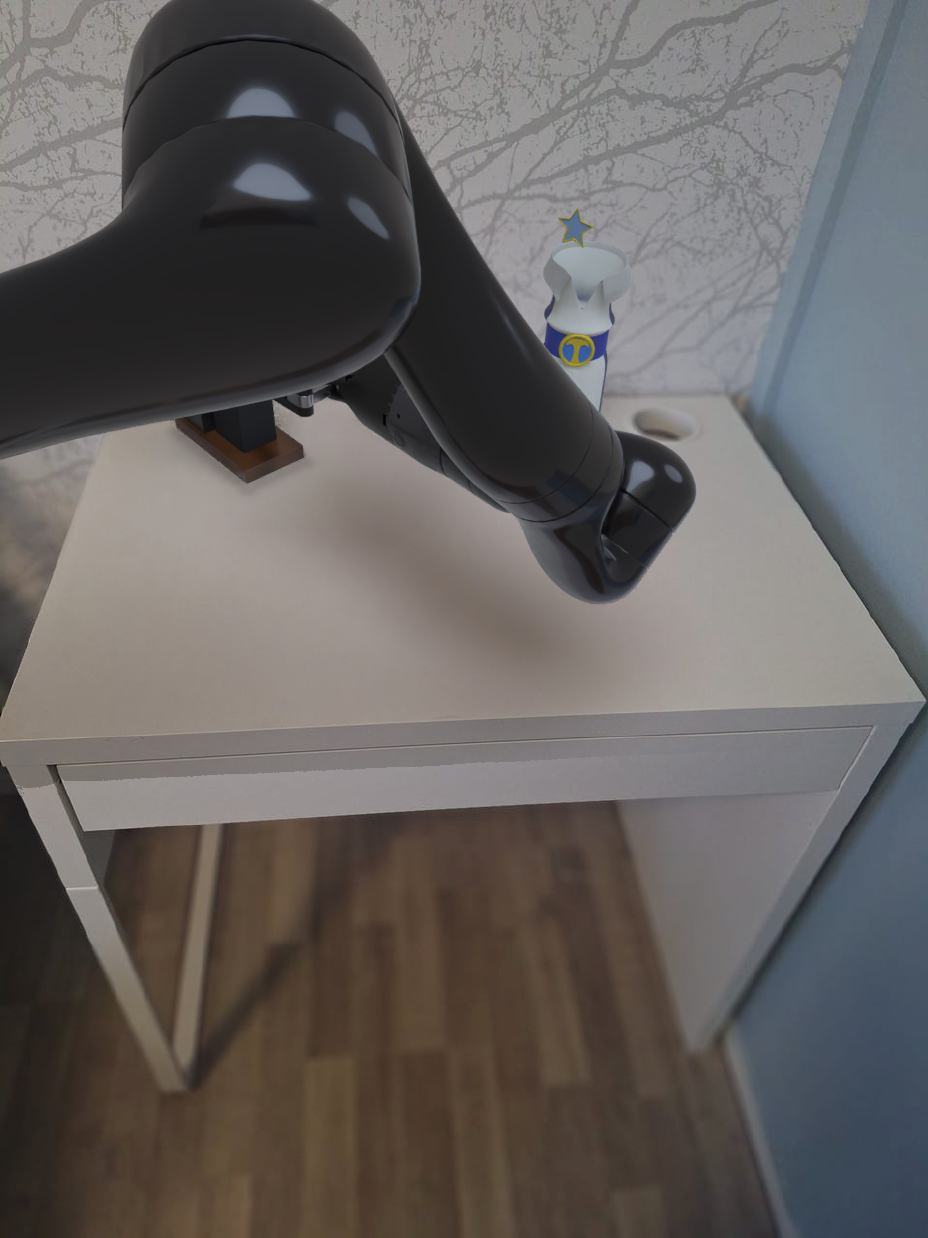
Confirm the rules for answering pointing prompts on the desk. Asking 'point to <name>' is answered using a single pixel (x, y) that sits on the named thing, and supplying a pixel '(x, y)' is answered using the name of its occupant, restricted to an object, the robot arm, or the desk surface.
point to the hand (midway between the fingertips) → (292, 318)
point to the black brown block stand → (238, 462)
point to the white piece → (583, 304)
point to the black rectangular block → (247, 425)
